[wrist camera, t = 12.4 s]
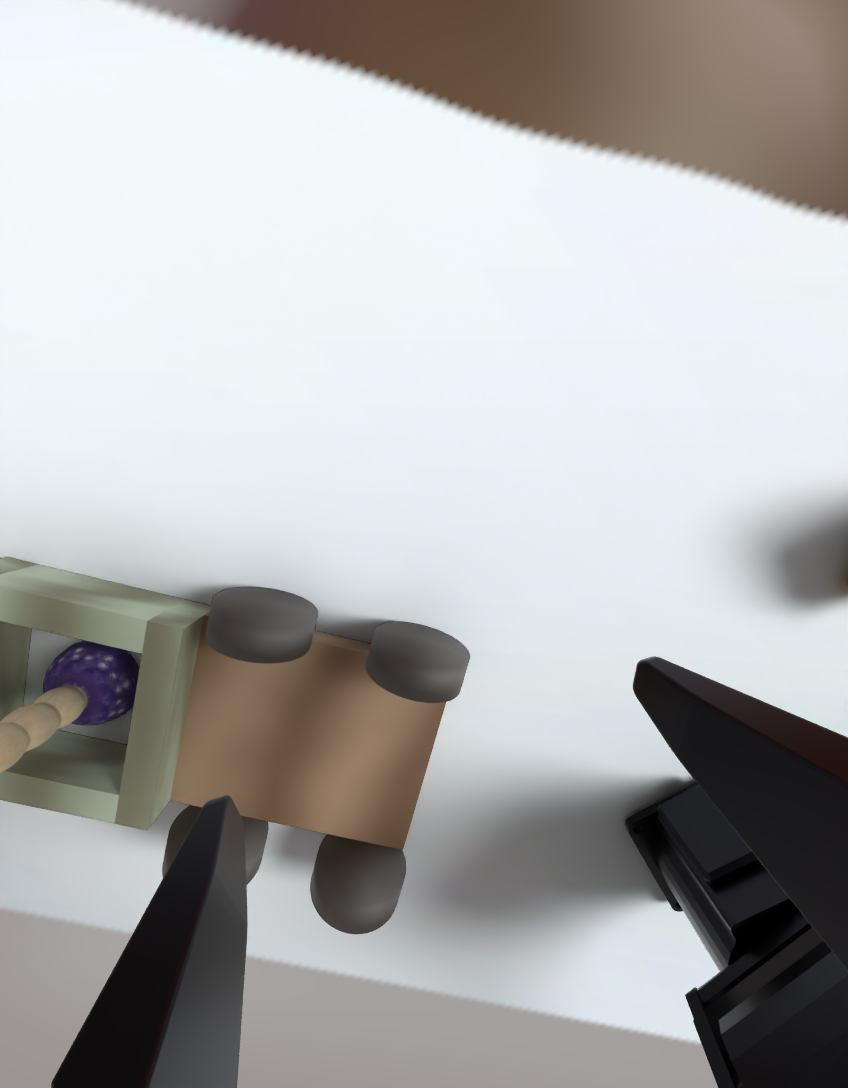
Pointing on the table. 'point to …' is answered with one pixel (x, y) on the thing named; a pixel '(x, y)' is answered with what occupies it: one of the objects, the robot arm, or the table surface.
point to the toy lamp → (71, 697)
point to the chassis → (242, 724)
